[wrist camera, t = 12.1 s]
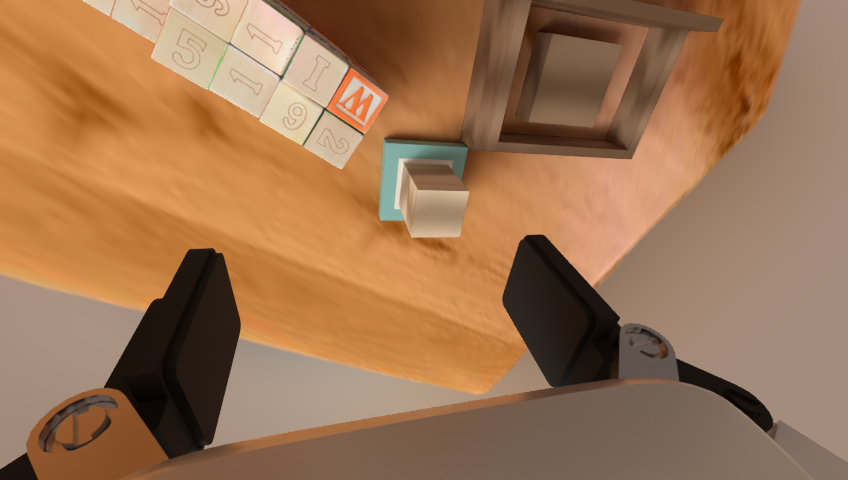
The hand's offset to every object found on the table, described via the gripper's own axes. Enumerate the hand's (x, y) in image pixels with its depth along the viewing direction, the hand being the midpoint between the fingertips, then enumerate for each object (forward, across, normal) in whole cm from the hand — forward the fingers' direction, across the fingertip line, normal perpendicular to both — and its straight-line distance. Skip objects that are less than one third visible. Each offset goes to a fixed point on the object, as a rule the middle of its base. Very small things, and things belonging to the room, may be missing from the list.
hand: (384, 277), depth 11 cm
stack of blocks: (+28, +8, -5) cm, 30 cm away
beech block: (+26, -8, +9) cm, 29 cm away
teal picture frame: (+27, -8, +9) cm, 30 cm away
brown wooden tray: (+28, -23, -2) cm, 36 cm away
